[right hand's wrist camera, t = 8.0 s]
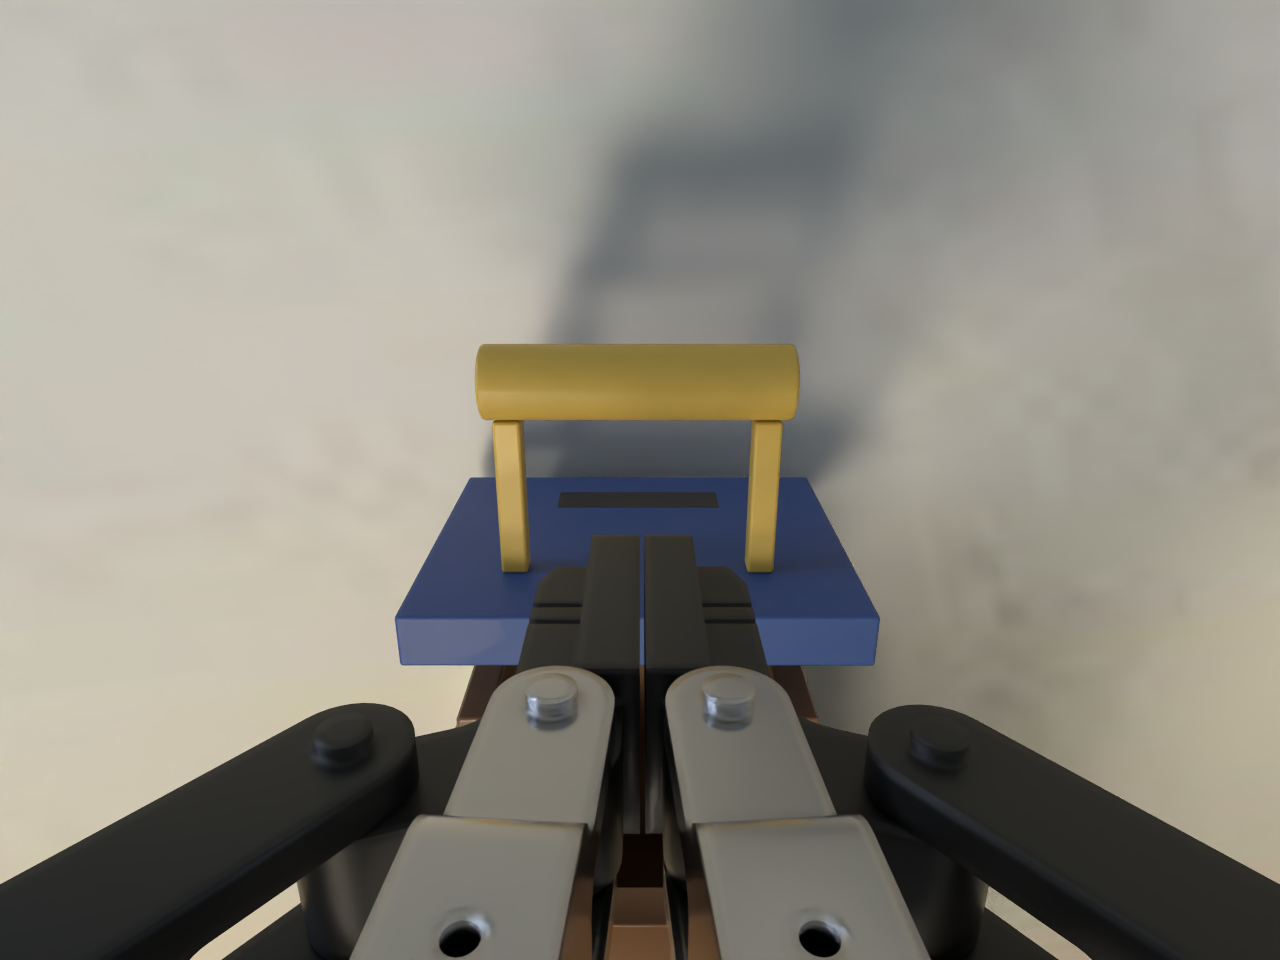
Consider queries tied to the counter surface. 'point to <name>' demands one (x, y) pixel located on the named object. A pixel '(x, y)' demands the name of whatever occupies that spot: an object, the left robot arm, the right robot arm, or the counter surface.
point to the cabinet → (640, 924)
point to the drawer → (635, 523)
